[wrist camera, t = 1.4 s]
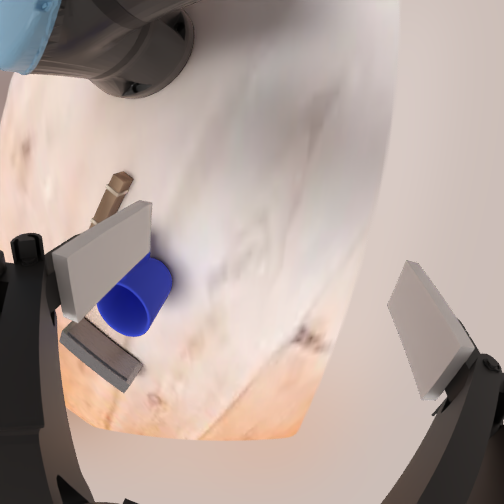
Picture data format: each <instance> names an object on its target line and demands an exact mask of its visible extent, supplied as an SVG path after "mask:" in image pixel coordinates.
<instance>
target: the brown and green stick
mask: <svg viewBox="0 0 504 504" xmlns="http://www.w3.org/2000/svg"><path fill="white" fill-rule="evenodd" d="M132 181H133V179H132V178H131V177H130V176H128V175H127V174H126V173H125V172H120V173H116V174H113V176H112V179H111V181H110V183H109V184H107V185H106V187H105V188H107V189H106V191H105V193H104V195H103V198H102V200H101V202H100V204H99V207H98V209H97V211H96V214H95V216H94V218H92V219H91V222H92V223H91V226H90V228H92V227H93V226H95V225H97V224H98V223H100V222H102V221H103V220H105V219H107V218H108V217H110V216H112V215H114V214H115V213H116V212H117V210H118V208H119V206H120V204H121V202H122V200H123V198H124V196H125V194H126V193H127V192H128V191H129V190H128V188H129V187H130V185H131V183H132ZM90 228H89V229H90Z"/></svg>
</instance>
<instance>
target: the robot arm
mask: <svg viewBox="0 0 504 504" xmlns="http://www.w3.org/2000/svg"><path fill="white" fill-rule="evenodd" d="M199 1H201V0H0V70H3V71H12V72H17V73H20V74H21V75H27V74H45V75H58V76H68V77H77V78H85V79H89V80H90V81H91V82H92V83H94V84H95V85H96V86H97V87H99V88H100V89H101V90H102V91H104V92H105V93H107V94H109V95H112V96H115V97H121V98H130V99H135V98H142V97H146V96H149V95H151V94H153V93H156V92H157V91H159V90H161V89H162V88H164V87H165V86H167V85H168V84H169V83H170V82H171V81H172V80H174V78H175V77H176V76H177V75H178V74H179V73H180V72H181V70H182V69H183V67H184V66H185V64H186V63H187V61H188V59H189V56H190V54H191V51H192V48H193V42H194V29H193V25H192V22H191V20H190V18H189V16H188V15H187V13H186V12H185V11H184V10H183V9H181V8H183V7H186V6H188V5H191V4H193V3H196V2H199ZM151 215H152V203H151V202H146V201H141V200H139V201H137V202H135V203H133V204H132V205H130V206H128V207H126V208H124V209H123V210H121V211H119V212H117V213H115V214H114V215H112V216H110V217H108V218H107V219H105V220H103V221H102V222H100V223H98V224H97V225H95V226H93V227H92V228H90V229H88V230H87V231H85V232H83V233H81V234H78V235H75V236H73V237H72V238H70V239H68V240H67V241H65V242H64V243H62V244H61V245H59V246H57V247H56V248H54V249H53V250H51V251H50V252H48V253H47V254H45V255H44V249H43V241H42V236H41V235H39V234H36V233H26V234H22V235H19V236H17V237H15V238H14V239H13V240H12V241H11V242H10V243H11V249H12V254H13V260H14V263H6V262H5V258H4V254H3V252H2V251H1V250H0V504H117V503H107V502H95V501H94V499H93V496H92V494H91V491H90V489H89V487H88V485H87V483H86V481H85V479H84V478H83V475H82V473H81V471H80V468H79V464H78V460H77V457H76V453H75V449H74V445H73V441H72V437H71V432H70V428H69V423H68V419H67V412H66V407H65V401H64V395H63V388H62V380H61V372H60V362H59V351H58V335H57V316H56V312H55V309H56V308H57V307H58V306H59V305H61V308H62V312H63V316H64V317H65V318H68V319H70V320H72V321H74V322H77V323H79V322H80V321H81V320H82V319H83V317H84V316H85V315H86V314H87V313H88V312H89V311H90V310H91V309H92V308H93V307H94V306H95V305H96V304H97V303H98V302H99V301H100V300H101V299H102V298H103V297H104V296H105V295H106V294H107V293H108V292H109V291H110V290H111V289H112V288H113V287H114V286H115V285H116V284H117V283H118V282H119V281H120V280H121V279H122V278H123V277H124V276H125V275H126V274H127V273H128V272H129V271H130V270H131V269H132V268H133V267H134V266H135V265H136V264H137V263H138V262H139V261H140V260H142V259H143V258H144V257H145V256H146V255H147V254H148V253H149V252H150V237H151ZM387 306H388V309H389V311H390V313H391V316H392V318H393V321H394V323H395V326H396V329H397V331H398V334H399V336H400V338H401V341H402V344H403V347H404V350H405V352H406V355H407V358H408V361H409V364H410V367H411V369H412V372H413V375H414V378H415V381H416V384H417V388H418V391H419V394H420V397H421V400H436V399H438V397H439V396H440V395H441V394H442V392H443V391H444V390H445V391H446V394H447V398H446V399H445V400H444V401H443V403H442V404H441V405H440V406H439V407H438V408H437V409H436V411H435V412H434V413H433V414H432V416H434V415H435V414H437V415H436V417H435V419H434V421H433V423H432V425H431V426H430V428H429V430H428V432H427V434H426V436H425V437H424V439H423V441H422V443H421V445H420V446H419V448H418V450H417V451H416V453H415V455H414V456H413V458H412V460H411V461H410V463H409V465H408V466H407V468H406V469H405V471H404V472H403V474H402V475H401V477H400V478H399V480H398V481H397V483H396V484H395V485H394V487H393V488H392V490H391V491H390V493H389V494H388V495H387V496H386V498H385V499H384V500H383V502H382V503H381V504H504V425H503V420H504V373H502V370H501V367H500V365H499V363H498V362H497V361H496V360H495V359H494V358H493V357H491V356H490V355H488V354H480V352H479V351H478V349H477V347H476V345H475V344H474V342H473V340H472V339H471V337H469V334H468V332H467V331H465V330H466V329H465V327H464V326H463V324H462V323H461V322H460V320H458V319H457V318H456V316H455V314H454V313H453V311H452V310H451V309H450V307H449V306H448V304H447V303H446V301H445V300H444V298H443V297H442V295H441V294H440V292H439V291H438V289H437V288H436V287H435V285H434V284H433V283H432V281H431V280H430V278H429V277H428V276H427V275H426V273H425V271H424V270H423V269H422V267H421V266H420V265H419V263H415V262H411V261H408V260H406V262H405V265H404V267H403V270H402V272H401V275H400V277H399V279H398V282H397V284H396V286H395V289H394V291H393V293H392V296H391V298H390V300H389V302H388V304H387ZM123 504H138V503H135V502H133V501H130V500H128V499H125V500H124V502H123Z"/></svg>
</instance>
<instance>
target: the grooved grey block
mask: <svg viewBox="0 0 504 504" xmlns="http://www.w3.org/2000/svg"><path fill="white" fill-rule="evenodd" d="M59 342H61V343H62V344H63V345H64V346H65V347H66V348H67V349H68V350H69V351H71V352H72V353H73V354H74V355H75V356H76V357H78V358H79V359H80V360H81V361H82V362H84V363H85V364H86V365H87V366H88V367H90V368H91V369H92V370H93V371H95V372H96V373H97V374H99V375H100V376H101V377H102V378H104V379H105V380H106V381H108V382H109V383H110V384H112V385H113V386H115V387H116V388H117V389H119V390H120V391H121V392H123V393H125V391H126V390H127V389H128V387H129V386H130V385H131V383H132V382H133V380H134V378H135V377H136V375H137V374H138V372H139V370H140V369H141V367H142V366H143V364H142V363H140V362H139V361H137V360H136V359H135V358H133V357H132V356H131V355H129V354H128V353H127V352H125V351H124V350H123V349H121V348H120V347H119V346H118V345H116V344H115V343H114V342H112V341H111V340H110V339H109V338H107V337H106V336H105V335H104V334H102V333H101V332H100V331H99V330H98V329H96V328H95V327H94V326H93V325H92V324H91V323H89V322H88V321H87V320H86V319H85V318H84V317H83V319H82V320H81V321H80V322H79V323H77V322H74V321H72V322H71V323H70V324H69V325H68V326H67V327H66V328H65V329H64V330H63V331H62V333H61V337H60V341H59Z"/></svg>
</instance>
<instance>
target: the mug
mask: <svg viewBox="0 0 504 504" xmlns="http://www.w3.org/2000/svg"><path fill="white" fill-rule="evenodd" d="M171 288H172V277H171V274H170V272H169V270H168V268H167V267H166V266H165V265H164V264H163V263H162V262H160V261H159V260H157V259H154V258H150V252H149V253H148V254H147V255H146V256H145V257H144V258H143V259H142V260H140V261H139V262H138V263H137V264H136V265H135V266H134V267H133V268H132V269H131V270H130V271H129V272H128V273H127V274H126V275H125V276H124V277H123V278H122V279H121V280H120V281H119V282H118V283H117V284H116V285H115V286H114V287H113V288H112V289H111V290H110V291H109V292H108V293H107V294H106V295H105V296H104V297H103V298H102V299H101V300H100V301H99V302H98V303H97V307H98V310H99V312H100V314H101V316H102V317H103V319H104V320H105V321H106V323H107V324H108V325H109V326H110V327H112V328H113V329H114V330H116V331H117V332H119V333H121V334H123V335H126V336H131V337H137V336H141V335H143V334H145V333H146V332H147V331H148V329H149V328H150V326H151V324H152V322H153V321H154V319H155V317H156V315H157V314H158V312H159V310H160V309H161V307H162V305H163V303H164V302H165V300H166V298H167V297H168V295H169V293H170V291H171Z"/></svg>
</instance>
